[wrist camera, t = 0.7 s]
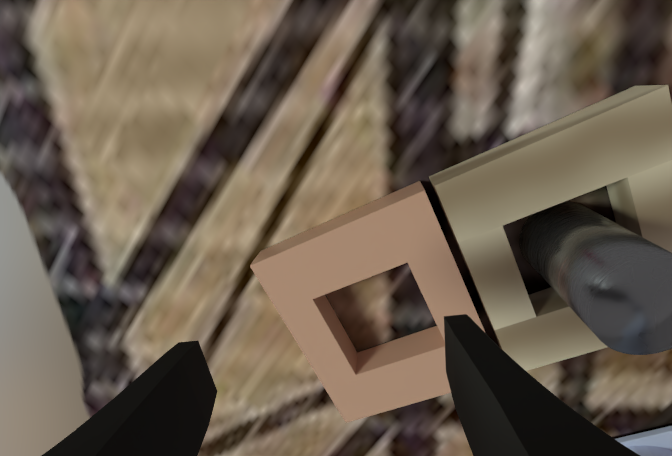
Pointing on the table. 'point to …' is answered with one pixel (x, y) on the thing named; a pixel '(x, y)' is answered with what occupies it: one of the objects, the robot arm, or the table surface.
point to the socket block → (353, 266)
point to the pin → (604, 275)
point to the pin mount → (551, 189)
